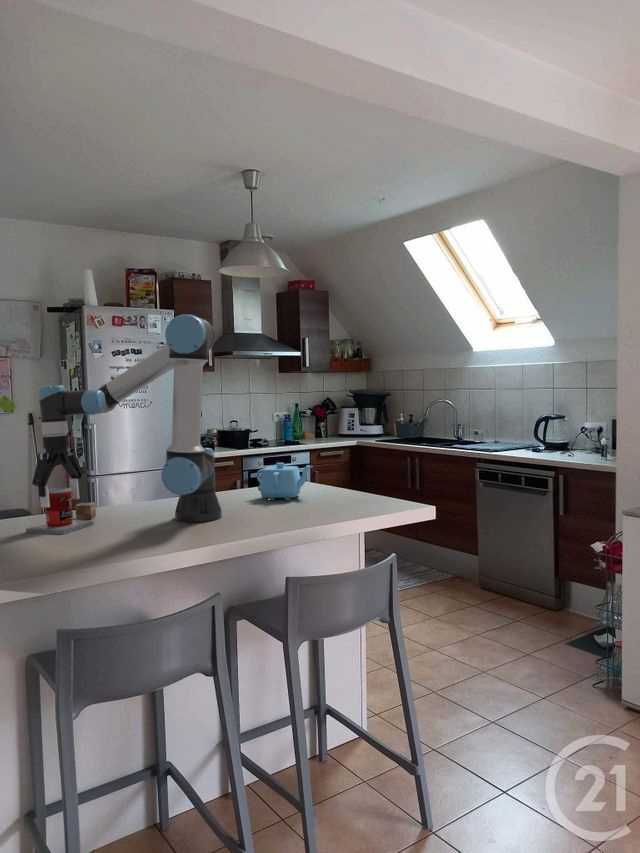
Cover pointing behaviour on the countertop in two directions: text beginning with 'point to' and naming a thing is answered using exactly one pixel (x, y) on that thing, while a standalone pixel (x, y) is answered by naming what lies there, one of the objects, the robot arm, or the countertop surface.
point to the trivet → (61, 529)
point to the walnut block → (85, 511)
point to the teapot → (281, 481)
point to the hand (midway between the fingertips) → (60, 503)
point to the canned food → (59, 507)
